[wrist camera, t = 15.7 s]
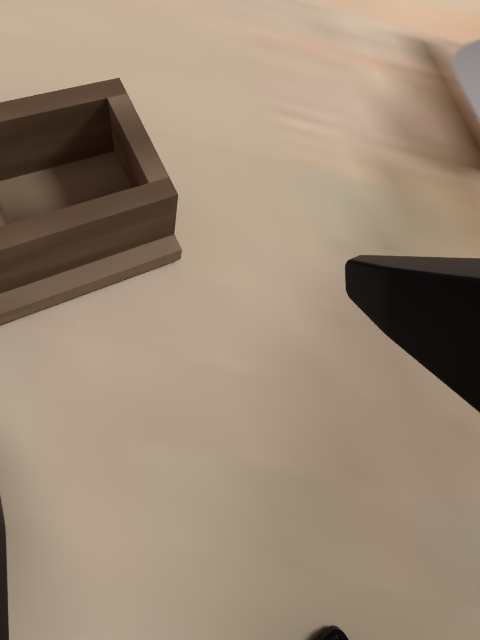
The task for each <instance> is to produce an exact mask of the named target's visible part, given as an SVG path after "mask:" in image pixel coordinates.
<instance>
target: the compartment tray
mask: <svg viewBox="0 0 480 640" xmlns="http://www.w3.org/2000/svg"><path fill="white" fill-rule="evenodd" d="M177 200H178V194H177V192H176V190H175V188H174V186H173V184H172V182H171V180H170V178H169V176H168V174H167V172H166V170H165V168H164V166H163V164H162V162H161V160H160V158H159V156H158V154H157V152H156V150H155V148H154V146H153V144H152V142H151V140H150V138H149V136H148V134H147V132H146V130H145V128H144V126H143V124H142V122H141V120H140V118H139V116H138V114H137V112H136V110H135V108H134V106H133V104H132V102H131V100H130V98H129V96H128V94H127V92H126V90H125V88H124V86H123V84H122V82H121V80H120V78H116V79H111V80H106V81H102V82H97V83H92V84H87V85H82V86H78V87H73V88H68V89H63V90H58V91H54V92H49V93H44V94H39V95H34V96H30V97H25V98H20V99H15V100H10V101H5V102H1V103H0V325H1V324H3V323H6V322H9V321H12V320H14V319H17V318H20V317H23V316H25V315H28V314H31V313H34V312H36V311H39V310H42V309H45V308H47V307H50V306H53V305H56V304H58V303H61V302H64V301H67V300H69V299H72V298H75V297H78V296H80V295H83V294H86V293H89V292H91V291H94V290H97V289H100V288H102V287H105V286H108V285H111V284H113V283H116V282H119V281H122V280H124V279H127V278H130V277H133V276H135V275H138V274H141V273H144V272H146V271H149V270H152V269H155V268H157V267H160V266H163V265H166V264H168V263H171V262H174V261H177V260H179V259H181V252H182V249H181V247H180V245H179V243H178V241H177V239H176V237H175V235H174V231H175V221H176V211H177Z"/></svg>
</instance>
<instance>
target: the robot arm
mask: <svg viewBox="0 0 480 640" xmlns="http://www.w3.org/2000/svg"><path fill="white" fill-rule="evenodd" d="M345 281H346V292H347V294H348V296H349V298H350V299H351V300H352V301H353V302H354V303H355V304H356V305H357V306H358V307H359V308H360V309H361V310H362V311H363V312H364V313H365V314H366V315H367V316H368V317H369V318H370V319H371V320H372V321H373V322H374V323H375V324H376V325H377V326H378V327H379V328H380V329H381V330H382V331H383V332H384V333H385V334H386V335H387V336H388V337H389V338H390V339H391V340H393V341H394V342H395V343H396V344H397V345H399V346H400V347H401V348H402V349H403V350H405V351H406V352H407V353H408V354H410V355H411V356H412V357H413V358H414V359H416V360H417V361H418V362H419V363H420V364H422V365H423V366H424V367H425V368H426V369H428V370H429V371H430V372H431V373H433V374H434V375H435V376H436V377H437V378H439V379H440V380H441V381H442V382H443V383H445V384H446V385H447V386H448V387H449V388H451V389H452V390H453V391H454V392H456V393H457V394H458V395H459V396H460V397H462V398H463V399H464V400H465V401H466V402H468V403H469V404H470V405H471V406H472V407H474V408H475V409H476V410H477V411H479V412H480V259H479V258H445V257H411V256H378V255H359V256H357V257H354V258H352V259H350V260H348V261H347V262H346V264H345ZM335 635H338V640H348V638H347V637H346V635H345V634H344V633H343V631H342V630H341V629H340V628H339V627H337V626H330V627H328V628H327V629H326V630H325V631H324V632H323V633H322V634H321V635H320V636H319V637H318V638H317V639H316V640H332V638H333V637H334V636H335ZM0 640H9V625H8V590H7V555H6V531H5V522H4V515H3V509H2V503H1V497H0Z"/></svg>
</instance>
